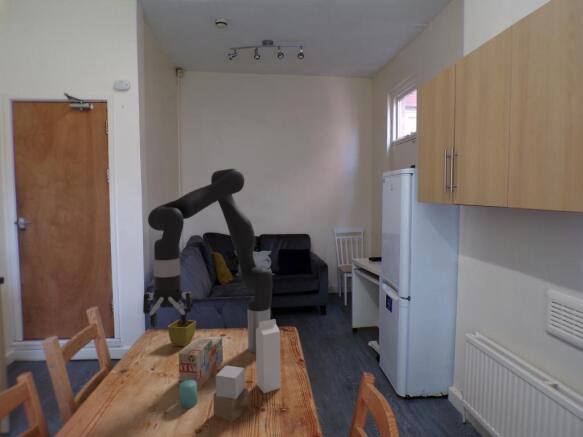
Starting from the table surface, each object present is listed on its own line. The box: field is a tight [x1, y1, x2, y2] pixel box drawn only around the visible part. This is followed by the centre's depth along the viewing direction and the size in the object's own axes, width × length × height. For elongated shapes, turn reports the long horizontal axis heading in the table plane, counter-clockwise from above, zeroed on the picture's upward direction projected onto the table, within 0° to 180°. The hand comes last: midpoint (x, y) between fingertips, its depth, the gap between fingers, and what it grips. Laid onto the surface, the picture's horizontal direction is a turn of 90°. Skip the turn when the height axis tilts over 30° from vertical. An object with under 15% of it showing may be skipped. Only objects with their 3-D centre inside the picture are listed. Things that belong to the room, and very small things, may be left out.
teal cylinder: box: [178, 380, 198, 410], centre depth 103 cm, size 5×5×6 cm
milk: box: [255, 318, 282, 394], centre depth 112 cm, size 6×6×22 cm
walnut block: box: [212, 387, 249, 423], centre depth 99 cm, size 7×7×6 cm
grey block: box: [215, 365, 246, 399], centre depth 98 cm, size 6×6×6 cm
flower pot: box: [167, 319, 197, 347], centre depth 147 cm, size 9×9×9 cm
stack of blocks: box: [178, 336, 224, 392], centre depth 121 cm, size 21×6×12 cm, turn 169°
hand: (168, 326), depth 104 cm, fingers open, 8 cm apart
